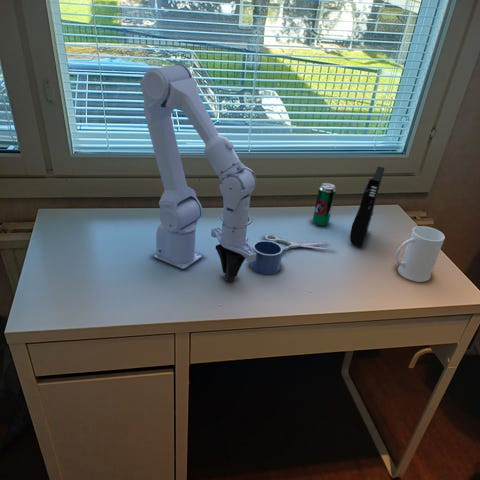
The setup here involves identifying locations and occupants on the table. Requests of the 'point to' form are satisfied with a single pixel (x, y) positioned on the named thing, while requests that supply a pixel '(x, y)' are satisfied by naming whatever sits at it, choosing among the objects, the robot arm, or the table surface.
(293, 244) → the scissors
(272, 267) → the cup
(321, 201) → the soda can
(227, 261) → the dark brown square post
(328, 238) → the table surface
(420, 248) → the mug
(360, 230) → the black tapered piece
